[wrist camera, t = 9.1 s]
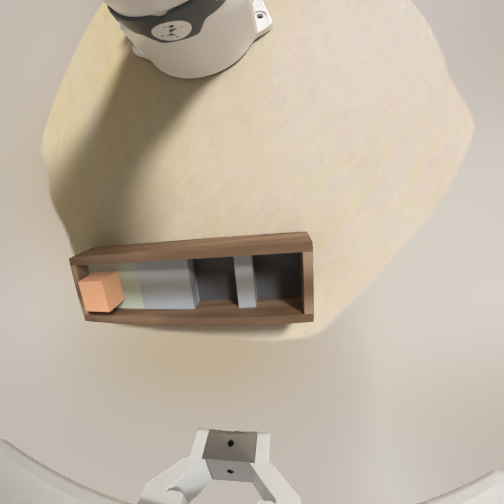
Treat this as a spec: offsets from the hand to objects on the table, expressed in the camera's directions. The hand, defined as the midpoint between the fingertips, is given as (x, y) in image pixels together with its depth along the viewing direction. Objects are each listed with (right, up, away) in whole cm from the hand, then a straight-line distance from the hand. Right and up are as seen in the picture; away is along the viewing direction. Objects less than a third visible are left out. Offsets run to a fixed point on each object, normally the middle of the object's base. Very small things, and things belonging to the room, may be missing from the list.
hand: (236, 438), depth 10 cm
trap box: (-7, +5, +26) cm, 28 cm away
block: (-18, +3, +24) cm, 31 cm away
